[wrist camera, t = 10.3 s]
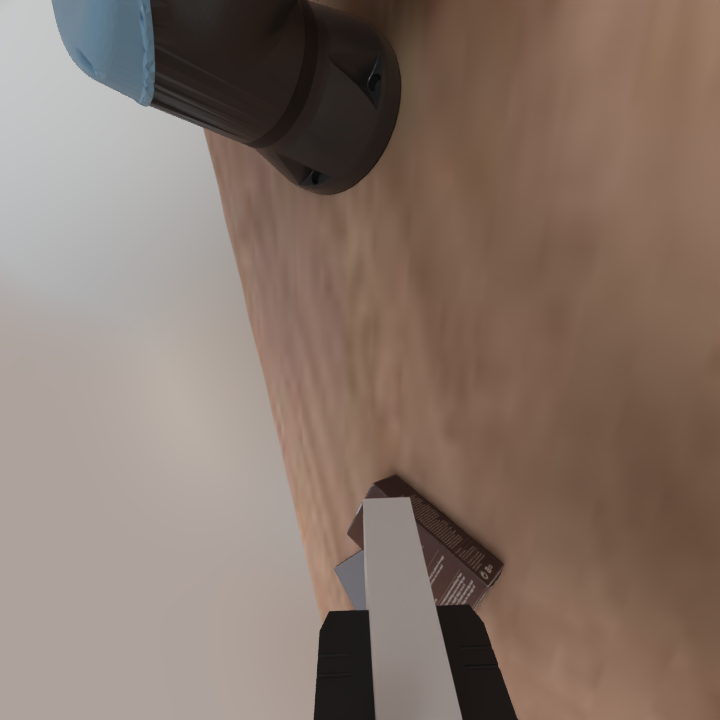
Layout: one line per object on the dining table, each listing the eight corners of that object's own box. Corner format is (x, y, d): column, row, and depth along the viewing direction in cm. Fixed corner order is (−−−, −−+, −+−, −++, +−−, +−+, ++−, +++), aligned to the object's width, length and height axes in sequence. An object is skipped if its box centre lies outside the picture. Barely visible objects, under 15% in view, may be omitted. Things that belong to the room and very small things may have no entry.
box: (507, 564, 33) (395, 471, 39) (490, 589, 29) (370, 482, 35) (471, 616, 35) (369, 519, 41) (451, 646, 31) (342, 535, 37)
